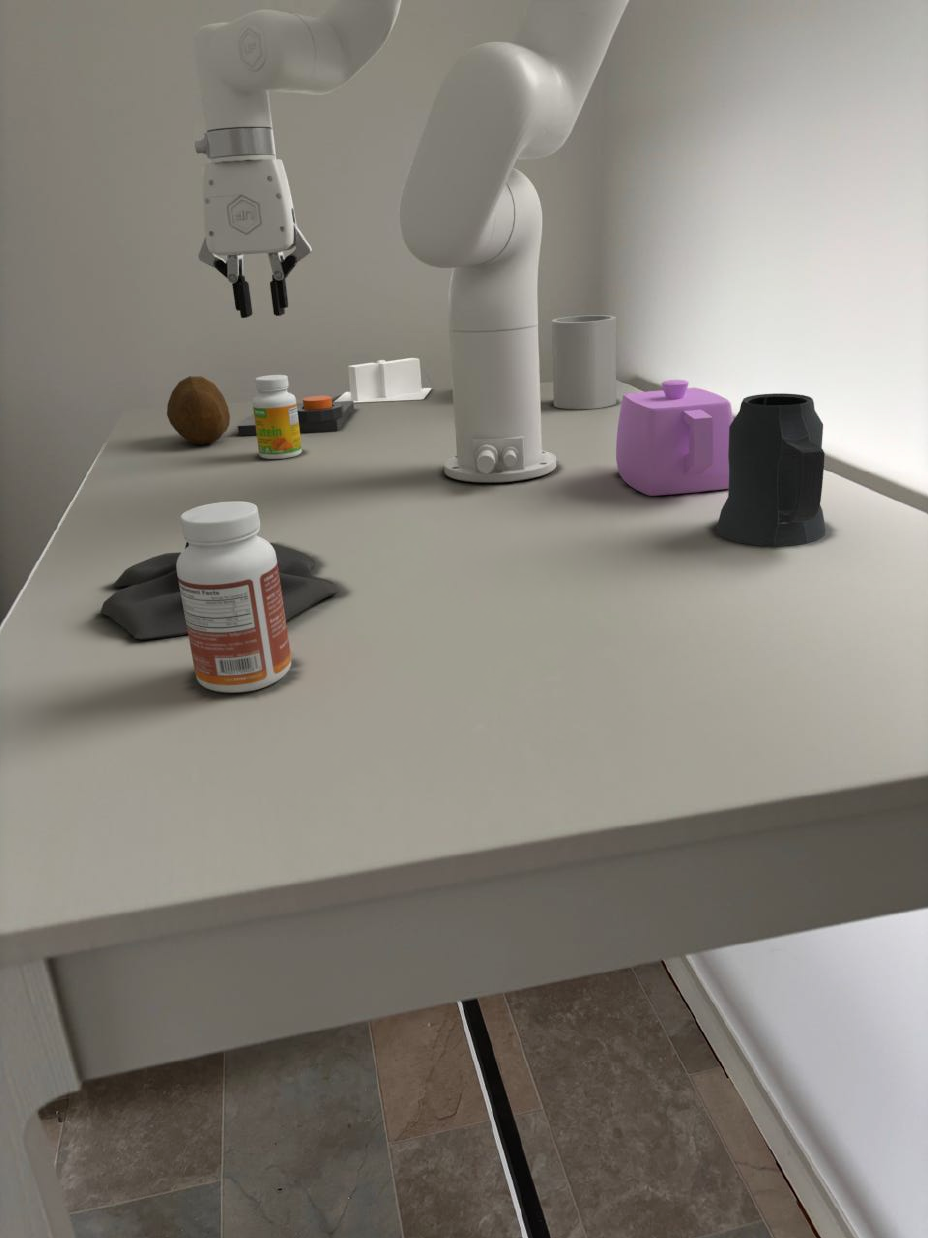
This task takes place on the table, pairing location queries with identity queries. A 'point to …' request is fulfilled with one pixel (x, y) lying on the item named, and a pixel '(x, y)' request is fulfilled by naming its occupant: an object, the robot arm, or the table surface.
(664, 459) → the teapot
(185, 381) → the potato
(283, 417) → the supplement bottle
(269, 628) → the pill bottle
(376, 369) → the napkin holder
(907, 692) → the table surface
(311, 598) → the cloth
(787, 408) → the mug
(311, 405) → the button
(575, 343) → the cup
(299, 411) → the dark grey button base
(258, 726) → the table surface
